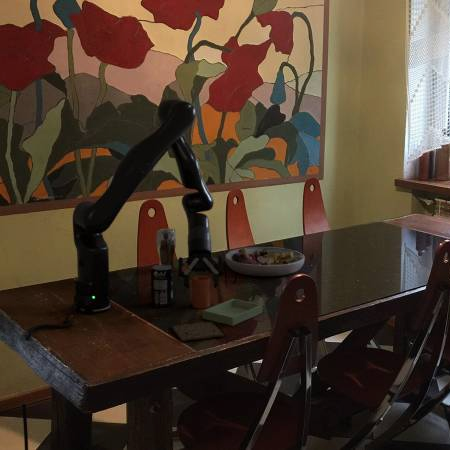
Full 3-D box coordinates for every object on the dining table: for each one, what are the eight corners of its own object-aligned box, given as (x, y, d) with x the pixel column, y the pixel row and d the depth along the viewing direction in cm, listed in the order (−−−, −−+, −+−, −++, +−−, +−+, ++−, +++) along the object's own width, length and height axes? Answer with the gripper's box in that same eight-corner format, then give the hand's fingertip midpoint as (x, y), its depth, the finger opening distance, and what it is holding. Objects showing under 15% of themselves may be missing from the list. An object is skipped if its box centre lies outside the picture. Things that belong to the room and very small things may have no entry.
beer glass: (179, 269, 269) (179, 230, 266) (167, 273, 264) (166, 233, 261) (166, 266, 273) (165, 227, 270) (153, 270, 267) (152, 230, 264)
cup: (202, 309, 223) (202, 281, 222) (188, 306, 226) (188, 278, 224) (213, 305, 228) (213, 277, 226) (200, 301, 231) (200, 274, 229)
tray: (232, 326, 209) (232, 317, 208) (202, 318, 215) (202, 310, 214) (262, 312, 222) (262, 304, 221) (233, 306, 227) (233, 298, 227)
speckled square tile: (171, 327, 206) (170, 324, 205) (211, 323, 210) (211, 320, 210) (181, 341, 195) (181, 338, 195) (224, 336, 200) (224, 333, 199)
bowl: (258, 255, 294) (258, 236, 293) (319, 267, 278) (320, 247, 276) (208, 269, 270) (208, 249, 269) (272, 283, 254) (272, 262, 252)
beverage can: (164, 299, 232) (164, 263, 230) (176, 304, 228) (176, 267, 225) (147, 303, 228) (146, 266, 225) (159, 308, 223) (158, 270, 221)
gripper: (177, 237, 230) (178, 281, 221) (222, 236, 232) (225, 280, 224) (177, 249, 236) (178, 293, 227) (220, 248, 238) (223, 292, 230)
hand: (201, 287), depth 225 cm, fingers open, 8 cm apart
